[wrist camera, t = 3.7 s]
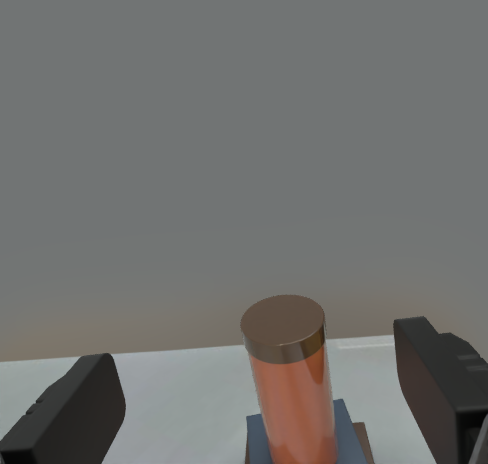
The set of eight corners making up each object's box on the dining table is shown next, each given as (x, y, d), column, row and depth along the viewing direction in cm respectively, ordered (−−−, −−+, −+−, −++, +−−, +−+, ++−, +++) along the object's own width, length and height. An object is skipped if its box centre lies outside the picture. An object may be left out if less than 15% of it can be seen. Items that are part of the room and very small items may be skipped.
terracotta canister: (267, 484, 26) (236, 349, 22) (268, 420, 31) (243, 298, 27) (345, 481, 25) (329, 340, 21) (335, 415, 30) (319, 290, 26)
